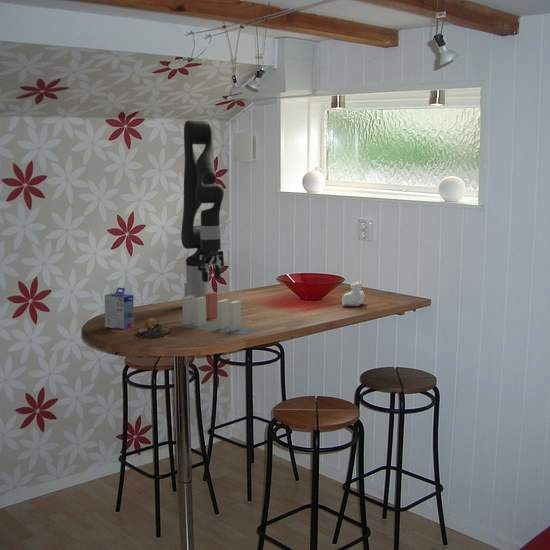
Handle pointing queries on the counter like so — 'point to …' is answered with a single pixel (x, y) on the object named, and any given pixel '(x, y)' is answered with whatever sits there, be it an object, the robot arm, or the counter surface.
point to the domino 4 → (234, 315)
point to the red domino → (211, 305)
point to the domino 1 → (188, 310)
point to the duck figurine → (354, 295)
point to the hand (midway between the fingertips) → (211, 280)
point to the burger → (152, 329)
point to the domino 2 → (199, 311)
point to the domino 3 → (223, 314)
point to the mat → (213, 327)
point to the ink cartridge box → (119, 310)
